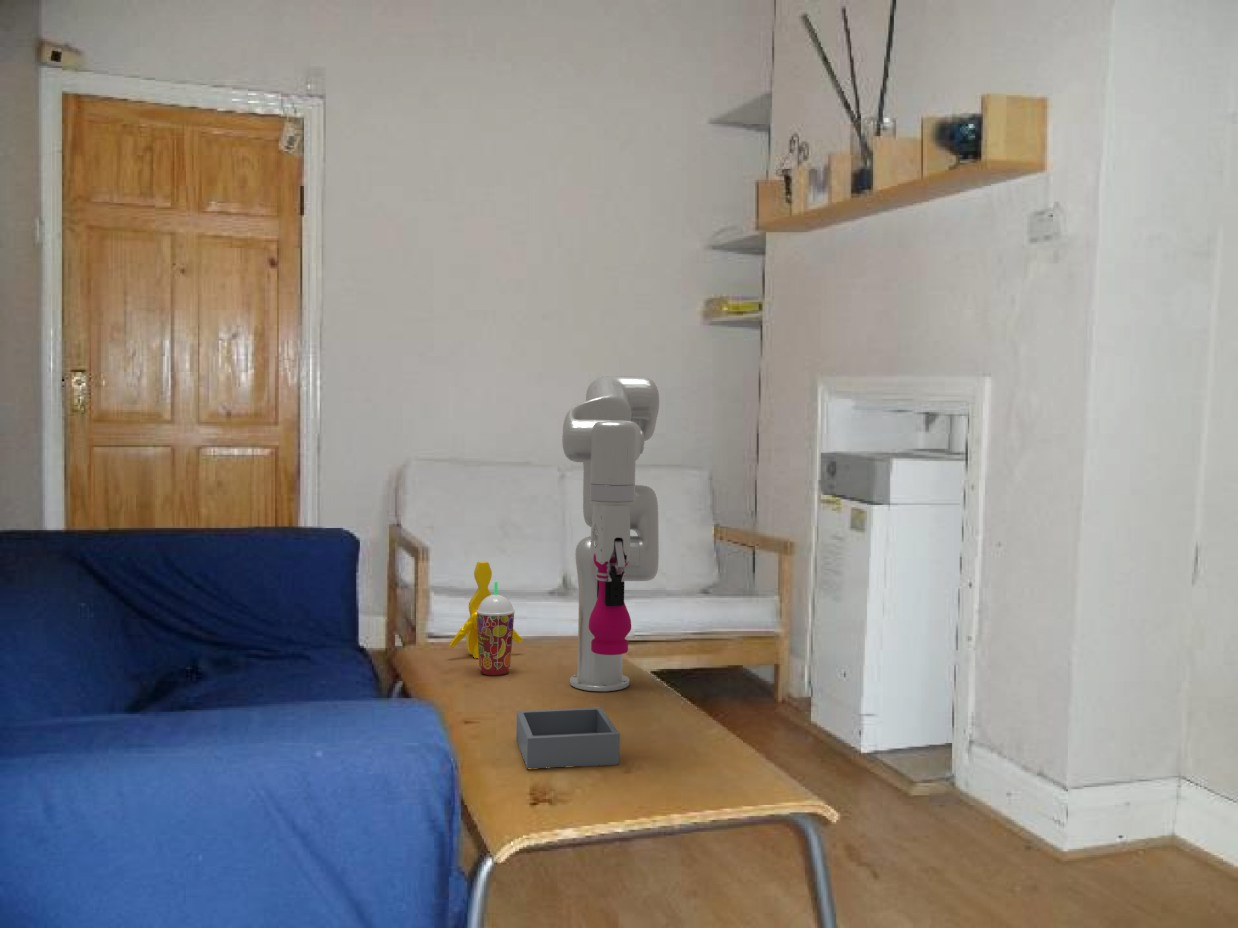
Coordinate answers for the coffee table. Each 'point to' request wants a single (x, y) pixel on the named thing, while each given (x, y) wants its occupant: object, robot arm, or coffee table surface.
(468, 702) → the coffee table surface
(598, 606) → the pepper mill
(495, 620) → the smoothie
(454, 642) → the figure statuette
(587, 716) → the bin
